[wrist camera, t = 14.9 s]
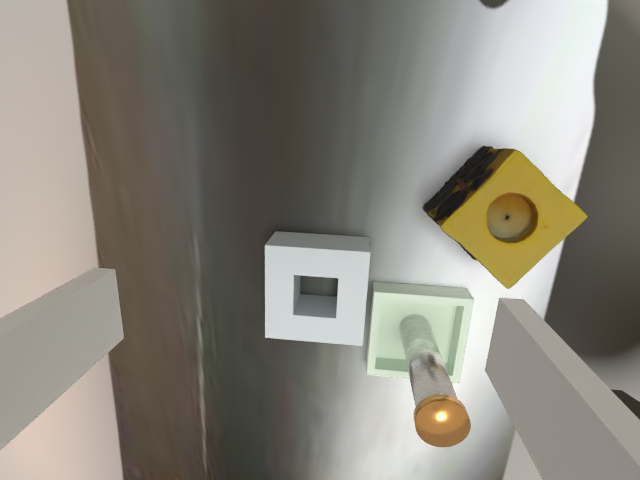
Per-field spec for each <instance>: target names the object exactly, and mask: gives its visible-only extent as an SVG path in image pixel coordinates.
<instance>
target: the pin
mask: <svg viewBox="0 0 640 480" xmlns="http://www.w3.org/2000/svg"><path fill="white" fill-rule="evenodd" d="M400 334H401V339H402V343H403V348H404V353H405V358H406V362H407V367H408V372H409V377H410V381H411V386H412V391H413V396H414V400H415V405H416V408H415V410H414V422H415V427H416V431H417V433H418V435H419V437H420V438H421V439H422V440H423V441H425V442H426V443H428V444H430V445H433V446H436V447H450V446H453V445H456V444H458V443H460V442H461V441H463V440H464V439H465V438H466V437H467V435H468V434H469V431H470V427H471V423H470V419H469V416H468V414H467V411H466V409H465V407H464V405H463V404H462V403H461V402H460V401H459V400H458V399H457V397H456V394H455V392H454V389H453V386H452V383H451V381H450V378H449V375H448V373H447V370H446V367H445V364H444V362H443V359H442V356H441V354H440V351H439V348H438V345H437V343H436V340H435V337H434V335H433V332H432V329H431V326H430V324H429V322H428V320H427V319H426V318H425V317H423V316H421V315H417V314H413V315H409V316H407V317H405V318H404V319H403V320H402V321H401V323H400Z"/></svg>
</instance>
